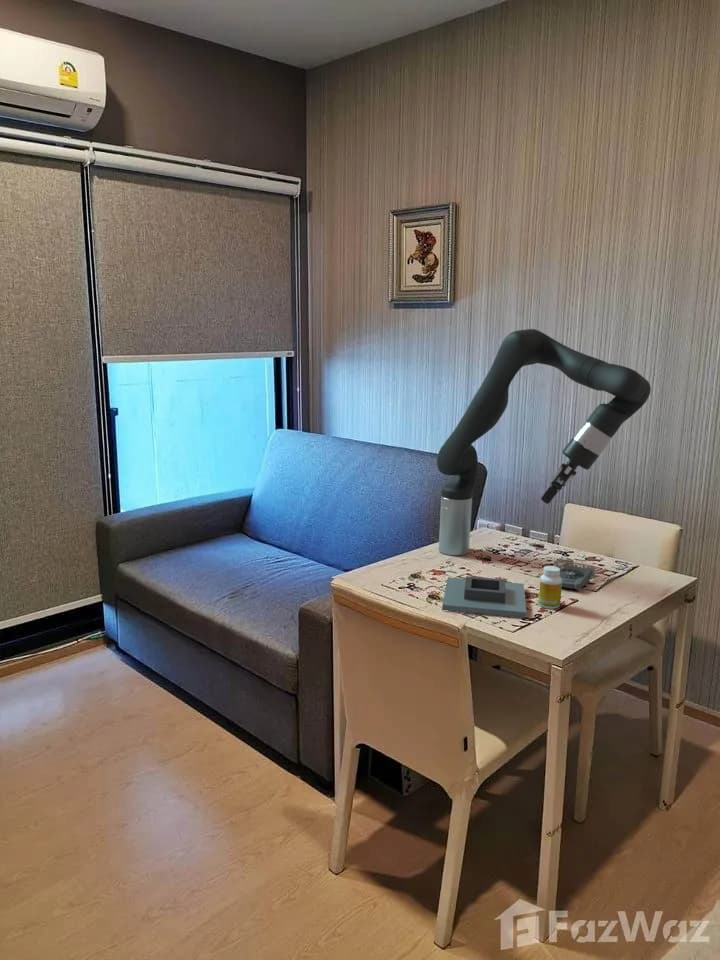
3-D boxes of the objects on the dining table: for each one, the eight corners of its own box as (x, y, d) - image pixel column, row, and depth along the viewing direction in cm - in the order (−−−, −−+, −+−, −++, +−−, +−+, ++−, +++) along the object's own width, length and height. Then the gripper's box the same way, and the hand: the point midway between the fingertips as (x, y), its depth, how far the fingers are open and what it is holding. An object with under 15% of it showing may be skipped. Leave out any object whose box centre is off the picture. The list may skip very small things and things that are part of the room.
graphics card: (554, 558, 214) (597, 564, 208) (554, 570, 215) (596, 577, 209) (536, 575, 200) (581, 583, 194) (536, 588, 201) (580, 596, 195)
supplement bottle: (560, 610, 184) (564, 572, 181) (538, 608, 184) (541, 570, 182) (559, 602, 189) (562, 565, 187) (537, 600, 190) (540, 564, 188)
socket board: (447, 582, 201) (448, 568, 200) (523, 589, 197) (524, 574, 196) (442, 610, 181) (442, 595, 181) (525, 618, 178) (527, 602, 177)
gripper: (574, 435, 184) (535, 488, 188) (572, 436, 171) (529, 493, 175) (600, 453, 182) (560, 505, 187) (599, 456, 169) (556, 512, 173)
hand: (545, 499), depth 181 cm, fingers open, 8 cm apart
